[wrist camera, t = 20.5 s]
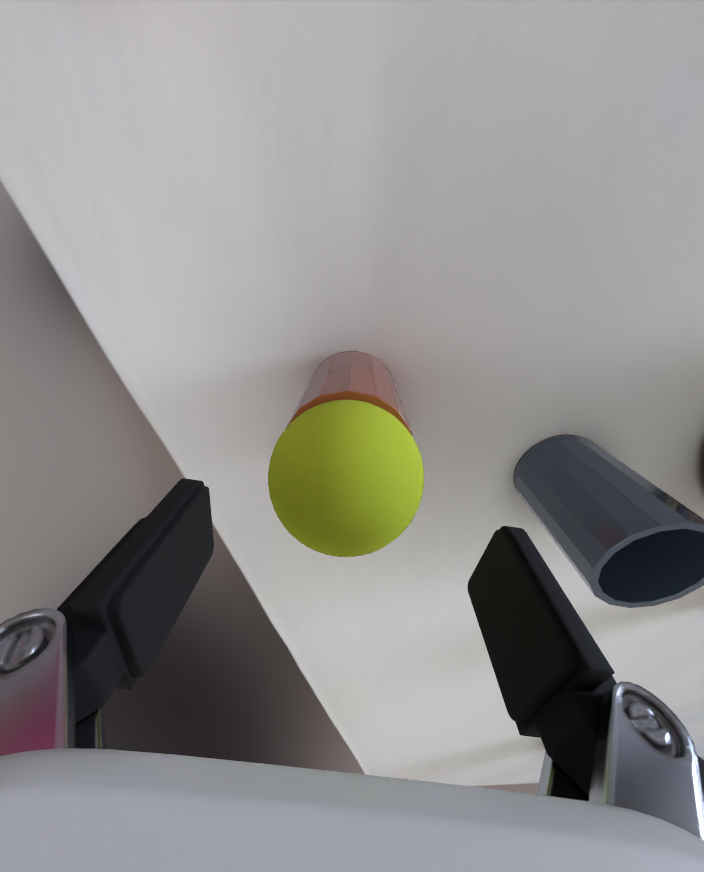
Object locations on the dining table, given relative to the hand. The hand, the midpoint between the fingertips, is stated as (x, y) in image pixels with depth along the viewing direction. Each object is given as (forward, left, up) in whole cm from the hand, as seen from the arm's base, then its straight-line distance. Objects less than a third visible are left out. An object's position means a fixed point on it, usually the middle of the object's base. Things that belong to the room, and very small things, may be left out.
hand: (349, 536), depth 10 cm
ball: (0, 0, -4) cm, 4 cm away
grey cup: (-16, +10, -15) cm, 24 cm away
